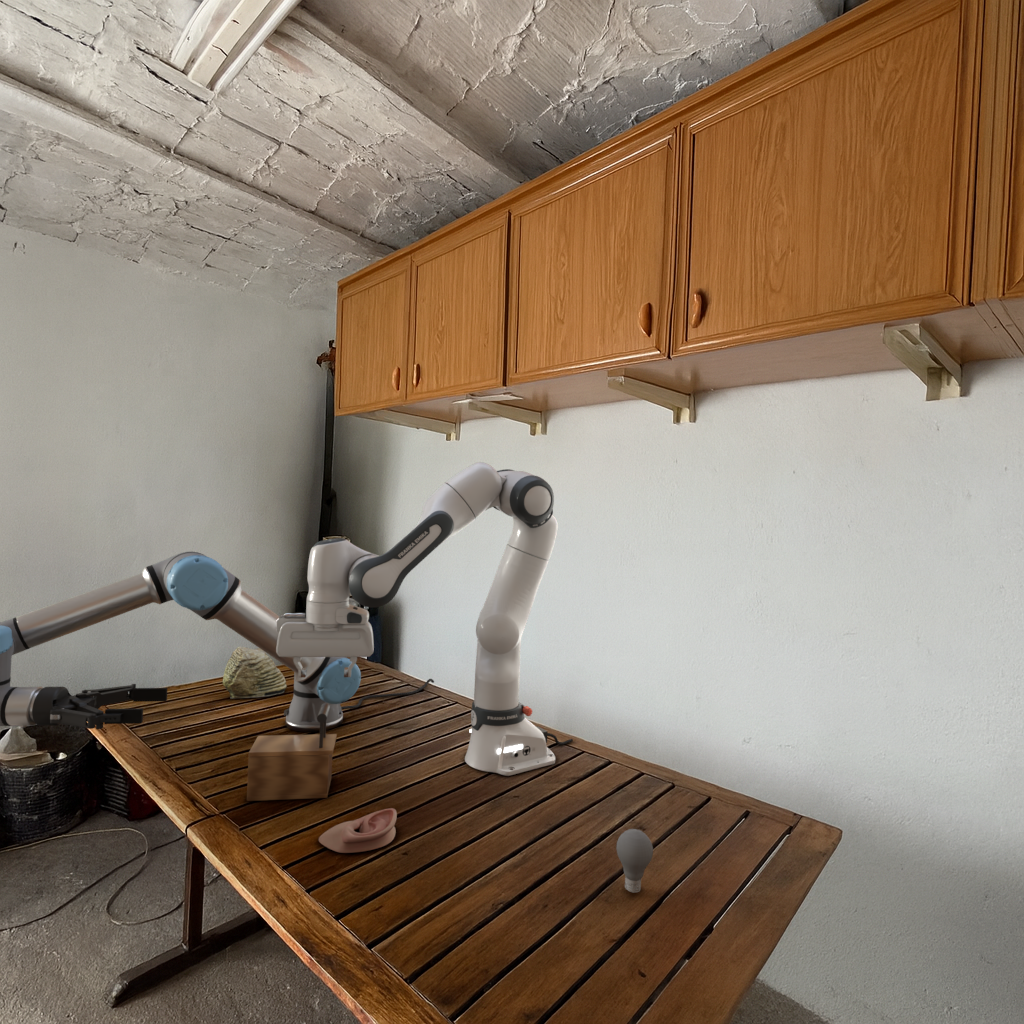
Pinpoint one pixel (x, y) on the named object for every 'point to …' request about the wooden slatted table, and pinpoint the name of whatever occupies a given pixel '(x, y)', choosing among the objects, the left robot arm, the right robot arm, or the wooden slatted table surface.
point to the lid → (297, 742)
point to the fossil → (252, 674)
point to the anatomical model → (362, 833)
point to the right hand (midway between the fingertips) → (325, 676)
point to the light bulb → (634, 857)
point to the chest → (288, 777)
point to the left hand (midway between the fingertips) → (155, 704)
